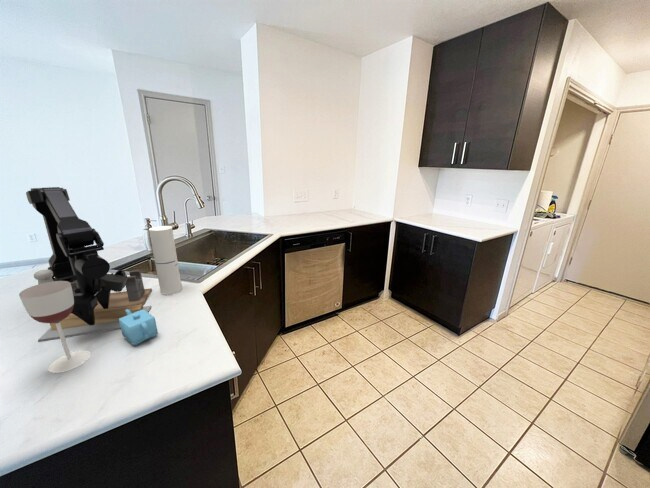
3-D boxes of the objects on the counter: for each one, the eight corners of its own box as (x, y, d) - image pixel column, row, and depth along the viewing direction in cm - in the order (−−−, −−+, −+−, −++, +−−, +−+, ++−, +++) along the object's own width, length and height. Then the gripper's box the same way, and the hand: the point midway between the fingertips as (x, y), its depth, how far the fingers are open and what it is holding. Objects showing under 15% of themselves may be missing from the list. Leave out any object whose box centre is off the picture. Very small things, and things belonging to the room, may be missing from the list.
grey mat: (62, 319, 79) (61, 317, 79) (151, 307, 87) (151, 305, 87) (38, 341, 70) (37, 339, 69) (141, 325, 77) (141, 323, 77)
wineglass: (53, 379, 58) (24, 301, 52) (42, 363, 62) (14, 290, 56) (97, 358, 64) (76, 287, 58) (84, 345, 69) (63, 277, 63)
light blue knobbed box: (118, 333, 74) (112, 311, 71) (142, 323, 78) (137, 302, 76) (136, 350, 67) (130, 326, 65) (161, 338, 72) (156, 315, 70)
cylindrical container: (156, 292, 97) (144, 229, 90) (173, 284, 103) (163, 225, 96) (169, 296, 95) (158, 231, 87) (186, 288, 101) (176, 227, 93)
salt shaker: (50, 311, 83) (37, 275, 79) (36, 309, 84) (23, 273, 80) (70, 302, 89) (59, 268, 85) (57, 300, 90) (46, 266, 86)
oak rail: (58, 324, 76) (55, 315, 75) (144, 312, 83) (142, 304, 82) (51, 330, 73) (48, 321, 72) (141, 317, 81) (139, 308, 80)
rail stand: (80, 299, 91) (73, 273, 88) (152, 290, 98) (147, 266, 95) (60, 317, 80) (51, 289, 77) (142, 306, 88) (136, 279, 85)
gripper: (106, 279, 67) (119, 329, 72) (131, 256, 84) (140, 297, 89) (52, 284, 64) (69, 337, 68) (89, 259, 80) (101, 302, 85)
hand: (99, 316), depth 78 cm, fingers open, 9 cm apart
